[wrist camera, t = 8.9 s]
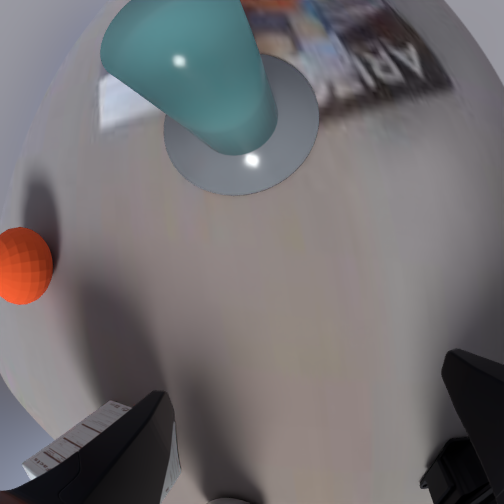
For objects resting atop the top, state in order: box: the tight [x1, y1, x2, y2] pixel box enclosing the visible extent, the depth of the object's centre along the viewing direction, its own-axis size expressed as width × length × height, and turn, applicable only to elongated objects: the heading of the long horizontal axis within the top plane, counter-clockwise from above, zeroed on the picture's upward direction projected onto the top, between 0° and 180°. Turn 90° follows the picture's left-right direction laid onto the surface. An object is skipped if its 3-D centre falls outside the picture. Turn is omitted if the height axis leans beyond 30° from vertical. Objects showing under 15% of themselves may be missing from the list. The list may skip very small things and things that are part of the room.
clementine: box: [0, 227, 53, 305], centre depth 20 cm, size 8×7×7 cm
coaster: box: [164, 54, 319, 196], centre depth 18 cm, size 11×11×1 cm
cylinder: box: [100, 0, 278, 156], centre depth 13 cm, size 6×6×11 cm
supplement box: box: [22, 400, 181, 504], centre depth 16 cm, size 7×7×13 cm
